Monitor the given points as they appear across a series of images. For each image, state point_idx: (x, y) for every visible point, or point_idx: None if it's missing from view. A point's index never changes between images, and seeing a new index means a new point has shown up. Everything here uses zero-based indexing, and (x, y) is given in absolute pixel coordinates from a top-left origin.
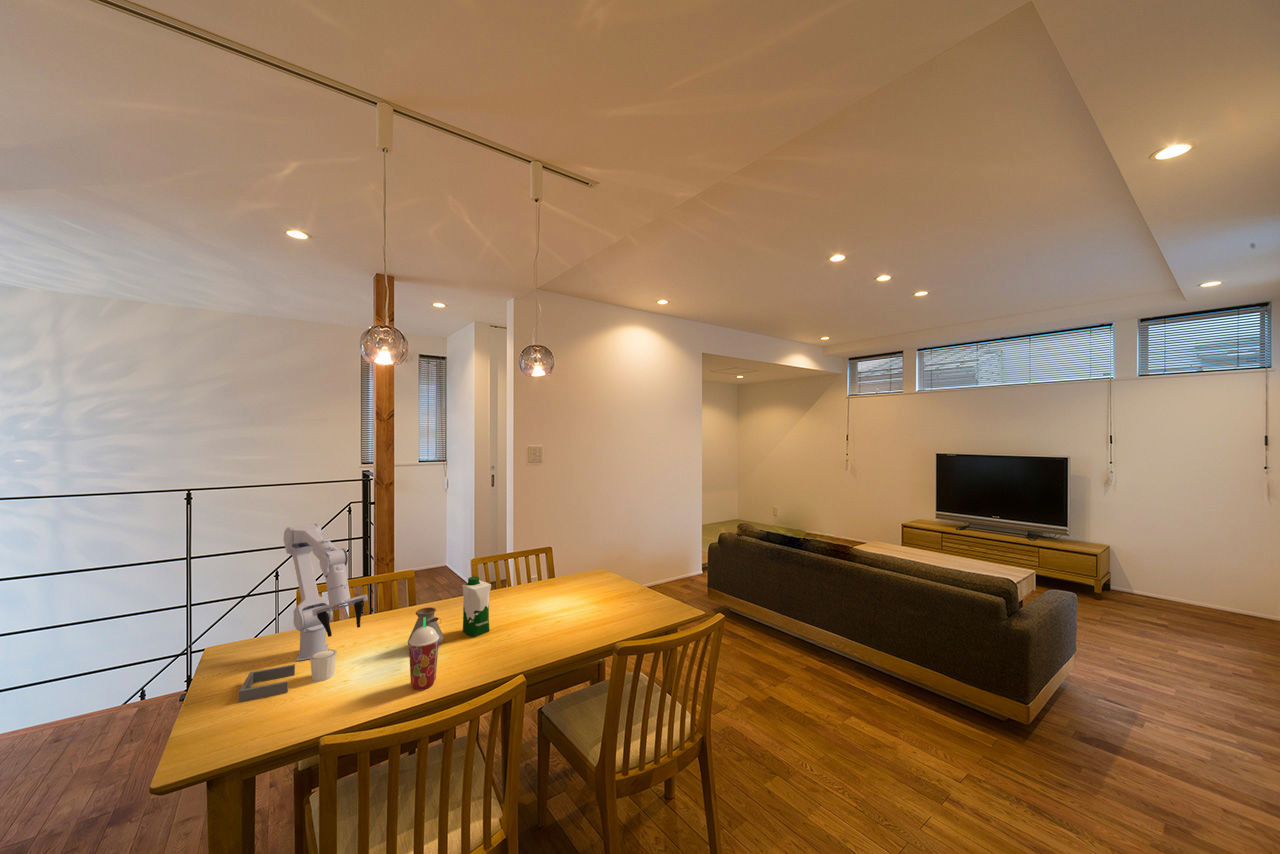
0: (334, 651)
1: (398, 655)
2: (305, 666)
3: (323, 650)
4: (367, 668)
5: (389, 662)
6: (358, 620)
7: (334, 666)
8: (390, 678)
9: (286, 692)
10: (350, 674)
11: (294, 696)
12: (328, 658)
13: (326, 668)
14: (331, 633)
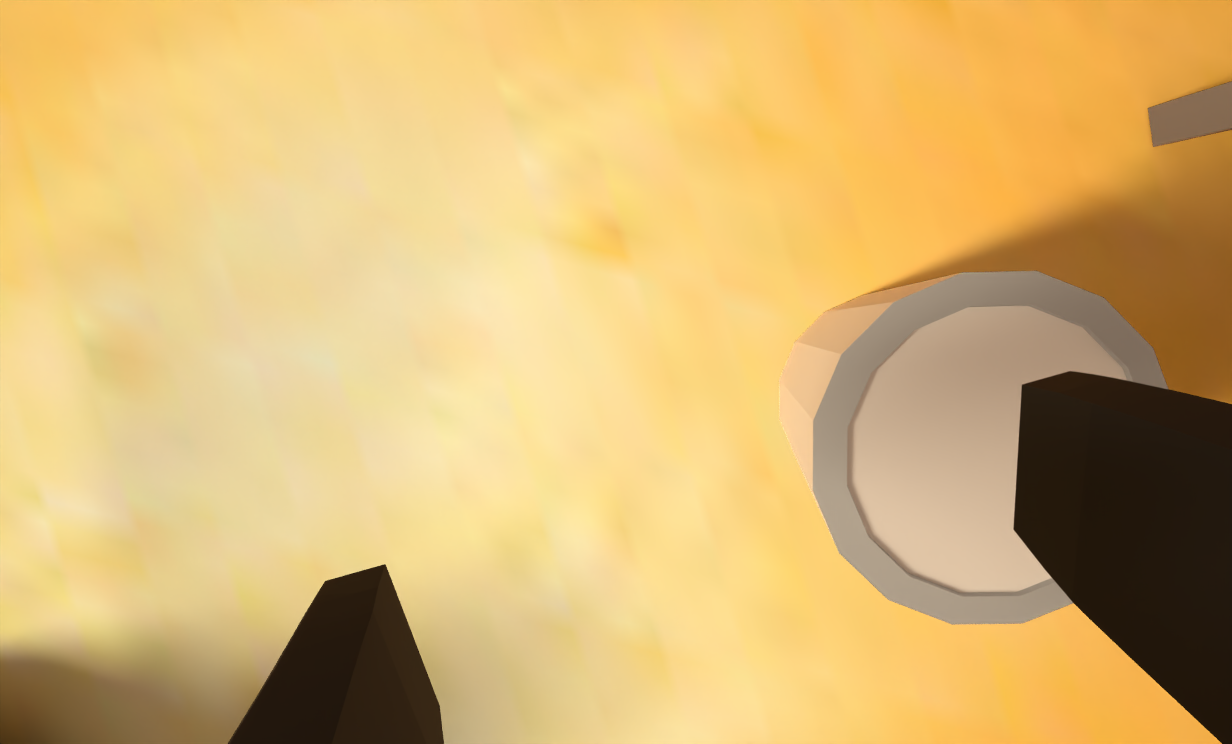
0: (853, 510)
1: (206, 722)
2: (1148, 702)
3: (1037, 588)
4: (458, 481)
5: (257, 570)
6: (273, 715)
7: (790, 415)
8: (133, 167)
9: (1158, 105)
10: (602, 380)
11: (1044, 2)
12: (877, 312)
13: (859, 304)
14: (1056, 574)
